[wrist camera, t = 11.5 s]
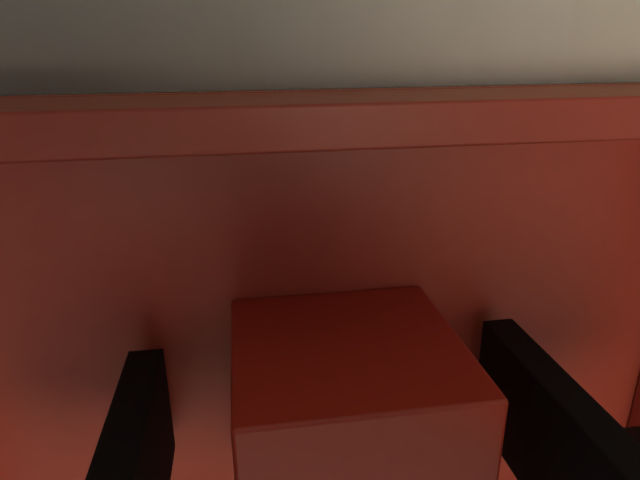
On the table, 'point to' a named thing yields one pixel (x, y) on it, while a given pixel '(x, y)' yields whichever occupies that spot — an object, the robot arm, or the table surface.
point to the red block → (359, 391)
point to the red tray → (300, 239)
